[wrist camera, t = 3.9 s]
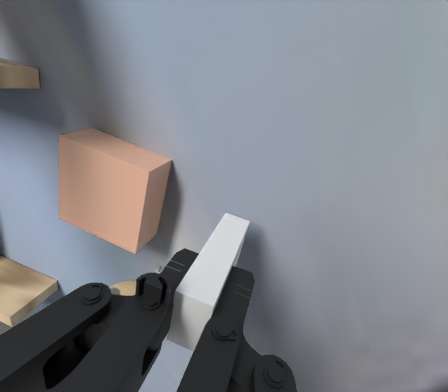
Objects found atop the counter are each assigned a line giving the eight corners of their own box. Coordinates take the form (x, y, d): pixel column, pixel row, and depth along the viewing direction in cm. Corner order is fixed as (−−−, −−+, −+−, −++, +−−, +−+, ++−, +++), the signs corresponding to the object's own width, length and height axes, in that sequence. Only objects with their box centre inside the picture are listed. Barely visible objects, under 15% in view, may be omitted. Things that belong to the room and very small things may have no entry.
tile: (174, 158, 17) (149, 171, 14) (158, 231, 19) (135, 254, 17) (95, 127, 18) (58, 134, 15) (91, 201, 20) (59, 218, 18)
